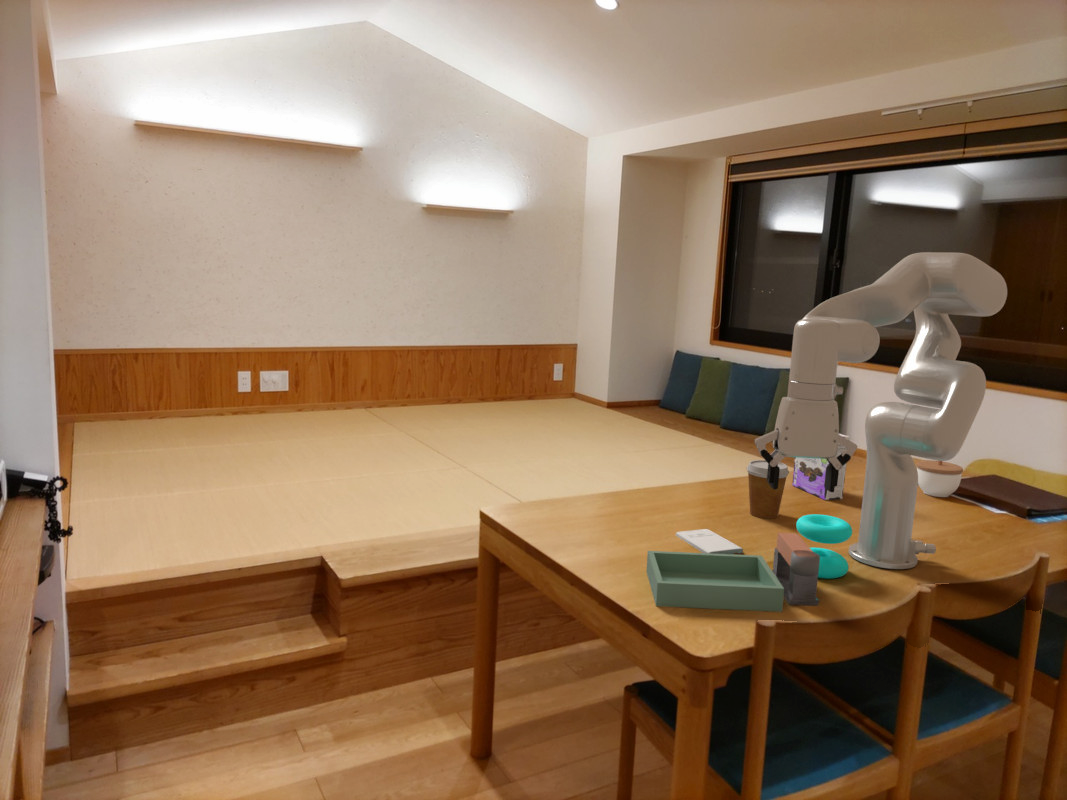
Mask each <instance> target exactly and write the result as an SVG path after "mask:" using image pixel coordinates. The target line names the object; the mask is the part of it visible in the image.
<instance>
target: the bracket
mask: <svg viewBox="0 0 1067 800" xmlns="http://www.w3.org/2000/svg"><path fill="white" fill-rule="evenodd" d="M772 566H773V567H772V569H771V570H772V572H773V573H774V574H775V576H776V577H777V579H778V580H779V582H780V583H781V585H782V586H783V587H784V597H783V599H785V601H786V602H787V604H788V605H790V606H809V607H810V606H811V607H819V604H820V599H819V598H818V597H817V589H818V588H817V587H818V582H819V581H818V580H819V578H818V575H817V576H813V577H806V576H800V575H797V574H794V573H793V572H791V571H790V565H789V564H788V563H787V561H786V560H785V559H784V557H783V556H782V555H781V553H780V552H779V551H778V550H777V548H776V547H774V551H773V565H772Z"/></svg>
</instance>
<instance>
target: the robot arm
mask: <svg viewBox="0 0 1067 800" xmlns="http://www.w3.org/2000/svg"><path fill="white" fill-rule="evenodd" d="M1007 297H1008V286H1007V283H1006V280H1005V278H1004V277H1003V276H1002V274H1001V273H1000V272H998V271H997V270H996V269H995V268H993V267H991V266H990V265H988V263H985V262H984V261H982V260H980V259H979V258H977V257H975V256H974V255H971V254H969V253H964V252H950V251H949V252H938V251H937V252H934V251H933V252H931V251H927V252H926V251H925V252H924V251H923V252H915V253H912V254H909V255H907V256H905V257H903V258H902V259H901V260H900V261H899V262H898V263H896V264H894V266H892V267H891V268H890V269H889V270H888V271H886V272H885V273H884V274H883V275H881V276H880V277H879V278H878V279H876V280H875V281H874V282H873V283H871V284H868V285H864V286H861V287H857V288H855V289H853V290H851V291H848V292H845V293H842V294H841V293H840V294H838V295H836V296H833V297H831V298H829V299H826V300H825V301H823V302H821V303H819V304H818V305H817V306H815V307H814V308H813V309H811V310H810V311H809V312H808V313H807V314H805V316H804V317H803V318H802V319H799V320H797V322H795V325H794V329H793V336H792V345H791V355H790V356H791V357H790V365H789V366H790V367H789V375H788V385H787V386H788V387H787V396H783V397H782V398H781V400H780V404H779V406H778V411H777V415H776V420H775V425H774V426H775V427H774V430H772V431H770V432H768V433H765V434H763V435H760V436H758V437H756V438H755V439H754V444H755V446H756V448H757V450H758V453H759V455H760V456H761V457H762V458H763V460H766V461H767V463H768V472H767V482H768V483H769V485H770V486H771V487H772V488H773V489H778V482H779V472H780V468H779V467H778V463H779V462H780V463H781V462H782V461H783V460H784V459H785V458H787V457H788V458H795V457H798V458H818V459H826V460H827V461H828V462H829V466H827V467H826V474H825V483H824V487H825V488H826V489H827V490H828V491H830V492H834V488H835V487H836V486H837V482H838V473H839V470H841V469H842V466H843V465H845V464H846V463H848V462H850V461H851V459H852V456H853V455H854V454H855V452H856V451H857V449H858V445H857V444H855V443H854V442H852V441H850V439H849V440H847V439H846V438H844V437H842V436H840V435H839V434H840V420H839V419H840V418H839V408H838V407H839V406H838V405H839V404H838V402H837V401H836V400H835V399H836V397H837V395H843V394H844V387H843V386H839V385H838V384H837V383H836V382H837V381H836V379H837V372H838V371H837V370H838V364H839V362H841V363H848V364H849V363H850V364H859V363H863V362H864V363H865V362H867V361H868V360H871V359H872V357H874V356H875V355H876V353H877V351H878V349H879V347H880V334H879V332H878V330H877V328H878V327H884V326H889V325H892V324H893V325H894V324H896V323H899V322H901V321H903V320H904V319H905V318H906V317H908V316H909V315H910V314H911V313H912V312H913V315H914V321H915V335H914V338H913V341H912V343H911V345H910V347H909V349H908V351H907V353H906V355H905V357H904V359H903V361H902V363H901V365H900V367H899V369H898V372H897V374H896V377H895V379H894V383H893V391H894V394H895V395H896V397H898V398H899V399H900V400H902V401H904V402H907V403H904V402H897V401H884V402H880V403H877V404H875V405H874V406H873V407H871V408H870V410H869V411H868V413H866V418H865V421H864V422H865V423H864V433H865V441H866V442H865V443H866V462H865V463H866V465H865V474H864V483H863V484H864V485H863V494H862V501H861V503H862V504H861V511H860V513H861V514H860V519H859V521H860V523H859V531H858V539H857V542H854V543H852V544H850V545H849V547H848V554H849V555H850V557H851V558H853V559H854V560H856V561H858V562H860V563H863V564H866V565H867V566H868V565H869V566H872V567H876V568H881V569H887V570H888V569H889V570H907V569H912V568H914V567H915V566H917V564H918V556H917V555H919V554H921V553H922V554H923V553H924V554H933V555H934V554H936V551H937V548H936V545H935V544H934V543H924V541H922V540H916V539H914V538H912V536H913V535H912V534H913V528H914V527H913V525H914V517H915V509H916V500H917V493H918V487H919V485H918V472H917V464H916V463H915V461H914V459H913V457H917V458H923V459H925V460H926V459H927V460H931V461H943V462H947V461H950V460H952V459H954V458H955V457H956V456H957V455H958V454H959V452H960V451H961V449H962V447H963V445H964V443H965V441H966V439H967V437H968V434H969V432H970V430H971V429H972V428H971V427H972V426H973V423H974V422H975V419H976V417H977V414H978V413H979V410H980V408H981V405H982V403H983V401H984V398H985V394H986V388H987V378H986V375H985V372H984V370H983V369H982V368H981V367H980V366H978V365H977V364H975V363H972V362H970V361H964V360H963V361H961V360H956V359H957V357H958V355H959V353H960V349H961V347H962V339H961V337H960V334H959V333H958V329H956V326H955V325H954V323H953V322H952V320H951V319H950V317H949V315H954V316H970V317H991V316H993V315H995V314H997V313H998V312H1000V311H1001V310H1002V309H1003V307H1004V305H1005V304H1006V302H1007V301H1006V300H1007ZM909 403H910V404H909ZM771 442H772V447H773V449H774V450H773V451H772V452H771V453H770V452H769V451H768V450H767V448H766V447H767V446H766V445H767V444H769V443H771ZM838 443H840V444H842V445H844V446H845V450H844V452H843V453H841V454H840V455H839V456H838V457H837V458H836V454H837V450H838Z"/></svg>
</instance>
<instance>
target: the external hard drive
mask: <svg viewBox="0 0 1067 800" xmlns="http://www.w3.org/2000/svg"><path fill="white" fill-rule="evenodd" d="M676 536H677V537H679V538H680V539H679V538H678V539H679V540H681V539H682V540H684V541H685V542H687V543H688V544H690V545H691V547H692V546H693V547H694V548H693V547H692V548H693V549H695V548H696V549H698V550H699V551H698V550H697V551H698V552H700V551H701V552H702V553H711V554H734V553H738V554H743V553H744V549H743V548H742V547H741V546H739V545H737V544H736V543H733V542H732V541H730V540H728V539H726V538H724V537H723V536H721V535H719V534H717V533H716V532H715V531H712V530H710V529H708V528H704V529H703V528H702V529H701V528H700V529H693V530H685V531H684V530H682V531H677V532H675V537H676ZM677 537H676V538H677ZM682 540H681V541H682ZM684 541H683V542H684ZM685 542H684V543H685ZM687 543H686V544H687ZM688 544H687V545H688ZM690 545H689V546H690ZM696 549H695V550H696ZM701 552H700V553H701ZM734 555H735V554H734Z"/></svg>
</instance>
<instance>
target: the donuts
mask: <svg viewBox="0 0 1067 800" xmlns="http://www.w3.org/2000/svg"><path fill="white" fill-rule="evenodd" d="M795 525H796V526H795V527H796V530H797V532H798V533H799V534H800V535H801V536H802V537H804V538H805V539H807V540H809V541H811V542H815V543H819V544H826V545H827V544H829V545H835V544H842V543H844V542H846V541H848V540H849V539H850V538H851V537H852V535H853V528H852V525H850V523H848V522H847V521H846V520H844V519H843V518H839V517H837V516H832V515H827V514H816V513H815V514H813V513H812V514H806V515H805V514H804V515H802V516H801V517H799V518H798V519H797V521H796V524H795ZM809 548H810V549H811V550H812V551H813V552H814V553H817V554H818V555H819V556H820V562H819V572H818V579H826V580H827V579H838V578H842V577H843V576H845V575H846V574H847V573H848V571H849V563H848V561H847V559H846V558H845V557H844V556H843V555H842V554H840V553H838V552H836V551H834V550H832V549H828V548H823V547H809Z"/></svg>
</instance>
